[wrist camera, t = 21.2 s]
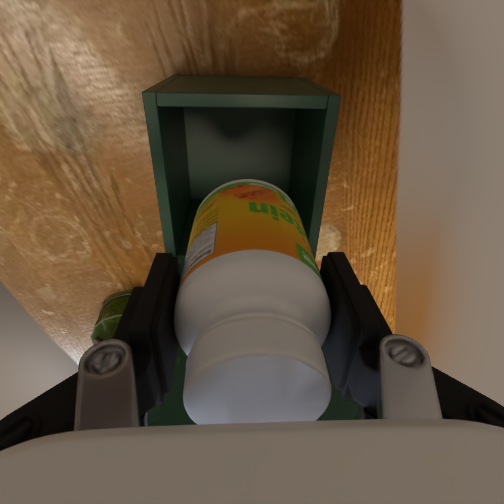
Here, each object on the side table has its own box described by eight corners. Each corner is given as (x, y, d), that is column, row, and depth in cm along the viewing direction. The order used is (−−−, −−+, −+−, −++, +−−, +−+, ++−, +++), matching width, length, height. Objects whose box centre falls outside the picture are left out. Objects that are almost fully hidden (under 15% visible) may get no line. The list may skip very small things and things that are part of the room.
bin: (172, 74, 29) (141, 91, 19) (305, 77, 30) (341, 95, 20) (185, 203, 36) (167, 264, 26) (292, 203, 37) (314, 263, 27)
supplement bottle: (320, 215, 16) (403, 385, 8) (257, 283, 19) (274, 468, 11) (233, 153, 15) (232, 295, 6) (174, 237, 17) (118, 420, 9)
